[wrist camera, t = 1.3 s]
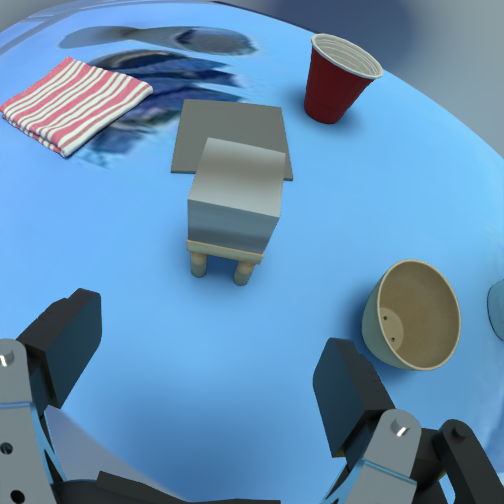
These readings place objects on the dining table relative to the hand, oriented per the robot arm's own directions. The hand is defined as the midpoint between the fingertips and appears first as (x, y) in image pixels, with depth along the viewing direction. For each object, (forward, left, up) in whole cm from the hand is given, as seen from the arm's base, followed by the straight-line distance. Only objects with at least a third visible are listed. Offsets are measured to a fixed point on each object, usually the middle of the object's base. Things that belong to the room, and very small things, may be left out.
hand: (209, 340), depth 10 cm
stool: (-2, -11, -16) cm, 19 cm away
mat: (-3, -28, -16) cm, 32 cm away
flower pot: (-18, -3, -16) cm, 24 cm away
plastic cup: (-17, -36, -16) cm, 43 cm away
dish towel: (+23, -36, -17) cm, 46 cm away
